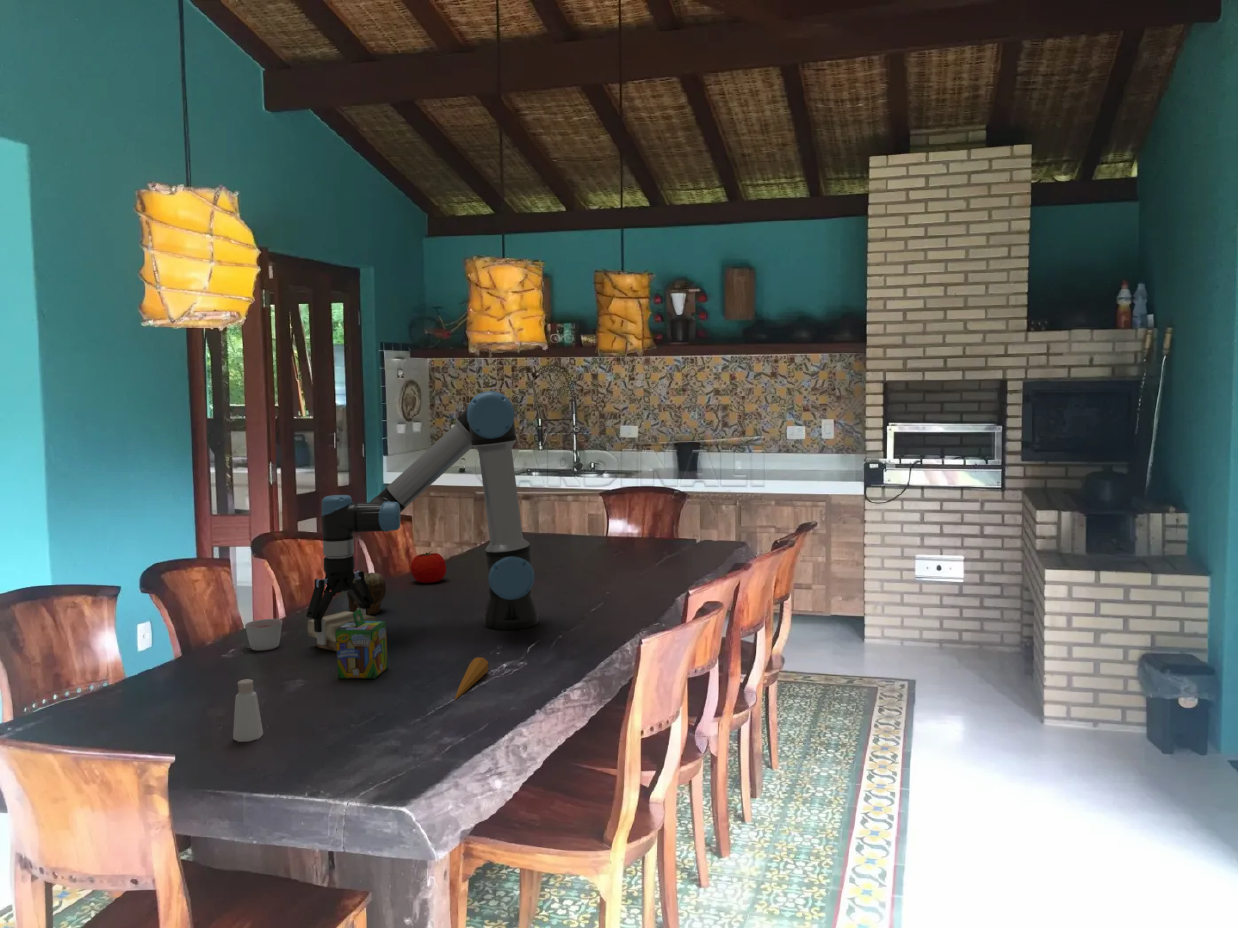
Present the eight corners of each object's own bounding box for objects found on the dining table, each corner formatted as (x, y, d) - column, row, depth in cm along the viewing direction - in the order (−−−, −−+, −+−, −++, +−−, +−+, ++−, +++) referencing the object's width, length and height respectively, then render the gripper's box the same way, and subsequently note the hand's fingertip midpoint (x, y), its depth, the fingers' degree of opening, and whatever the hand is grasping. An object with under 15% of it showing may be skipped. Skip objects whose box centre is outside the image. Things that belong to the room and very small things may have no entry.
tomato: (444, 577, 334) (443, 548, 333) (449, 584, 323) (448, 553, 322) (408, 580, 330) (407, 550, 329) (412, 587, 319) (411, 556, 318)
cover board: (376, 631, 250) (375, 616, 250) (338, 642, 241) (337, 626, 240) (346, 625, 257) (345, 610, 257) (308, 635, 248) (307, 620, 247)
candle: (282, 650, 246) (281, 625, 245) (244, 653, 243) (243, 628, 243) (284, 641, 254) (283, 617, 254) (247, 644, 252) (246, 620, 251)
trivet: (368, 643, 250) (367, 632, 250) (339, 651, 243) (339, 640, 243) (345, 638, 255) (345, 627, 255) (317, 646, 248) (316, 635, 248)
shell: (376, 617, 278) (375, 576, 277) (341, 616, 280) (339, 575, 279) (392, 609, 289) (391, 569, 288) (358, 607, 291) (357, 568, 290)
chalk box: (374, 679, 219) (372, 615, 218) (336, 679, 221) (333, 615, 219) (389, 667, 229) (387, 606, 227) (352, 667, 230) (349, 605, 229)
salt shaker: (226, 740, 183) (223, 683, 183) (247, 730, 188) (244, 675, 188) (249, 743, 182) (246, 686, 181) (269, 733, 187) (266, 677, 186)
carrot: (477, 675, 224) (468, 658, 224) (494, 668, 223) (485, 651, 223) (449, 713, 205) (440, 694, 204) (468, 705, 204) (458, 687, 203)
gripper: (366, 547, 259) (370, 626, 261) (289, 562, 240) (293, 647, 241) (385, 549, 255) (388, 630, 257) (307, 564, 235) (311, 651, 237)
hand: (342, 638), depth 249 cm, fingers closed on cover board, 12 cm apart
